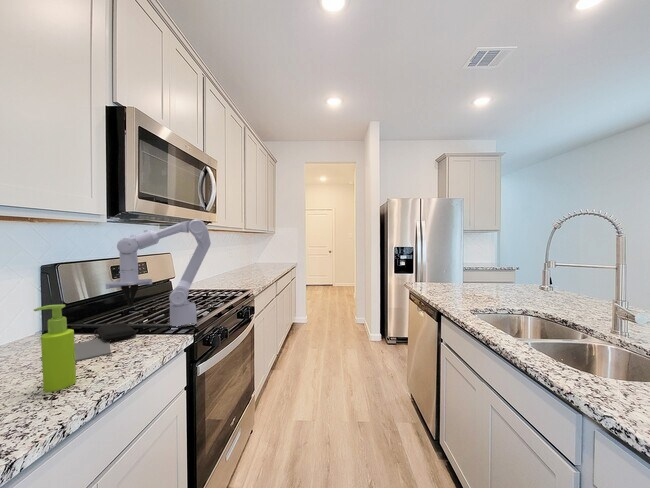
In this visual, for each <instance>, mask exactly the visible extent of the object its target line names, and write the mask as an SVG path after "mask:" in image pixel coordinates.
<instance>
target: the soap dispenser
mask: <svg viewBox="0 0 650 488" xmlns="http://www.w3.org/2000/svg"><path fill="white" fill-rule="evenodd" d="M64 308H66V303H65V304H62V303H61V304H49V305H43V306H40V307H37V308H34V309H33V311H34V312H39V311H42V310H51V318H49V319H47V332H45V333H43V334H41V336H40V344H41V347H40V348H41V363H42V366H41V367H42V368H41V369H42V383H43V384H42V387H43V392H47V393H49V392H58V391H61V390H63V389H66V388H69V387H71V386H73V385H74V384H76V383H77V371H76V370H77V369H76V367H77V366H76V362H75V345H74V343H75V331H74V329H72V328H68V321H67V319H68V318H67V316H63V315H62V314H63V312H62V309H64Z"/></svg>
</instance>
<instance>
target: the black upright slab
mask: <svg viewBox="0 0 650 488" xmlns="http://www.w3.org/2000/svg"><path fill="white" fill-rule="evenodd" d="M93 333H94V335H96V334H97V335H98V336H99V337H100V338H102V339H103V340H106V341H109V342H113V341H119V340H123V339H129V338H133V337H134V336H135V335H136V334H137V332H136V330H135V329H134V328H133V327H131V326H130V325H128V324H127V323H125V322H120V323H113V324H107V325H102V326H98V328H96V329H95V330H94V332H93Z"/></svg>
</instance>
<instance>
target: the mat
mask: <svg viewBox="0 0 650 488" xmlns="http://www.w3.org/2000/svg"><path fill="white" fill-rule="evenodd" d="M74 345H75V363H76V362H79V361H80V362H81V361H83V360H89V359H94V358H98V357H102V356H107V355H111V354H112V350H111V341H106V340H103V339H102V338H101V337H100V338H95V339H91V340H86V341H81V342H74Z"/></svg>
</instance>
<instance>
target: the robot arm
mask: <svg viewBox="0 0 650 488" xmlns="http://www.w3.org/2000/svg"><path fill="white" fill-rule="evenodd" d="M179 233H188V234H189V233H191V235H192V236H193V237H194V239H195V241H196V243H197V246H196V248H195V250H194V252H193V254H192V256H191V257H190V259H189V262H188V263H187V266H186V268H185V270H184V272H183V274H182V276H181V278H180V280H179V282H178V284H177V286H176V287H174V289H173V290H172V291H171V292H170V294H169V295H168V300H169V302H170V303H169V322H170V323H169V324H170V325H172V326H176V327H178V326H181V325H184V324H187V323H197V324H198V322H197V320H198V319H197V318H198V317H197V306H196V303H195V302H192V301H191V302H190V300H188V297H189V295H190V291H189V289H190V288H191V286H192V284H193V282H194V280H195V278H196V275H197V274H198V271H199V269H200V267H201V265H202V263H203V261H204V259H205V257H206V254H207V253H208V251H209V249H210V246H211V238H210V233H209V229H208V227H207V225H206V223H205V222H204V221H203V220H201V219H199V218H194V219H192V220H191V221H190V220H186V221H182V222H178V223H176V224H172V225H171V226H168V227H165V228H162V229H159V230H158V231H157V230H156V231H154V230H152V229H150V230H149V229H145V230H143V231H142V232H141V233H138V234H136V235H134V234H131V235H130V236H129V237H130V238H129V237H124V238H122V239H120V240H119V241H118V242H117V244H116V248H117V251H118V252H119V258H118V259H119V279H120V280H119V281H112V282H105V290H109V289H119V288H121V290H122V292H123V293H124V295H125V298H126V301H127V306H128V307H130V306H133V305H134V301H135V297H136V294H137V293H138V290H139V289H140V288H139V286H144V285H153V279H152V278H144V279H143V278H142V279H139V261H138V260H139V258H138V250H143V249H146V248H149V247H151V246H154V245H157V244H158V243H159V241H160V240H161V239H163V238H167V237H170V236H173V235H176V234H179ZM170 330H171V331H175V330H179V329H178V328H171V329H170Z"/></svg>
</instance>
